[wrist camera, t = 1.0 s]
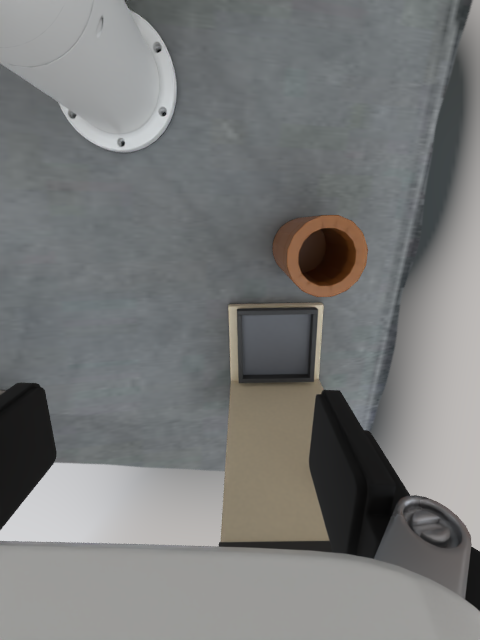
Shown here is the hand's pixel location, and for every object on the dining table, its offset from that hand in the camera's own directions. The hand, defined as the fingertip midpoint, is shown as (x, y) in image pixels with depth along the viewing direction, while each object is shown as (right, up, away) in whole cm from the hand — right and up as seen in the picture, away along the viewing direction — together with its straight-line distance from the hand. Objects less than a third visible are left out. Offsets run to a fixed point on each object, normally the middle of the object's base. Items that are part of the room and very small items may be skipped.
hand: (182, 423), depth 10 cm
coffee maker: (+7, -2, +31) cm, 32 cm away
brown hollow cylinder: (+9, +13, +27) cm, 31 cm away
